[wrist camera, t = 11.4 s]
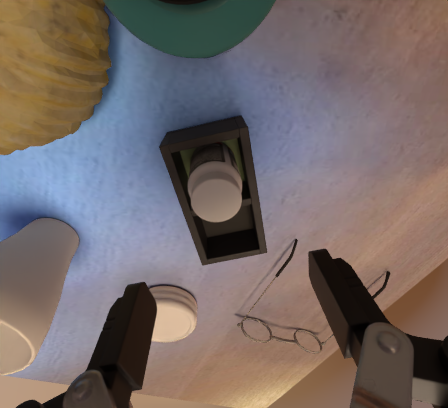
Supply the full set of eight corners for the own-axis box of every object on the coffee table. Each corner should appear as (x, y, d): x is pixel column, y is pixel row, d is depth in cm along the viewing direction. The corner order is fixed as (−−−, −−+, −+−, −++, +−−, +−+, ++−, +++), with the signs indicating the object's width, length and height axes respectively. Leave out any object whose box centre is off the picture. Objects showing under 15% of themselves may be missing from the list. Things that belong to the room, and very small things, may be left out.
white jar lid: (209, 300, 39) (209, 320, 36) (174, 329, 43) (172, 350, 40) (156, 274, 35) (151, 295, 32) (123, 309, 39) (116, 330, 36)
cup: (82, 199, 28) (-5, 298, 16) (107, 263, 33) (55, 372, 22) (-11, 203, 28) (-167, 308, 16) (30, 268, 33) (-64, 381, 22)
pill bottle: (183, 170, 26) (174, 213, 19) (203, 131, 24) (201, 163, 17) (222, 188, 27) (227, 234, 20) (243, 153, 25) (257, 190, 18)
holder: (203, 240, 32) (202, 265, 28) (166, 132, 25) (158, 146, 21) (259, 228, 32) (267, 252, 28) (241, 115, 24) (247, 126, 20)
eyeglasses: (234, 316, 41) (237, 339, 38) (293, 235, 33) (303, 254, 30) (317, 335, 46) (327, 357, 43) (387, 268, 38) (405, 288, 35)
